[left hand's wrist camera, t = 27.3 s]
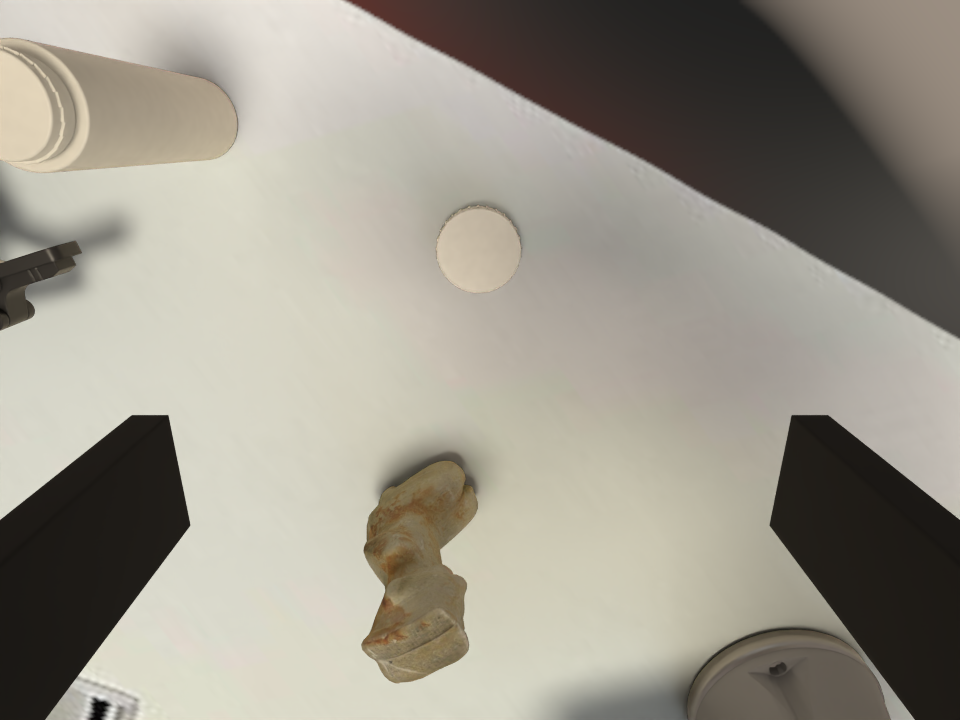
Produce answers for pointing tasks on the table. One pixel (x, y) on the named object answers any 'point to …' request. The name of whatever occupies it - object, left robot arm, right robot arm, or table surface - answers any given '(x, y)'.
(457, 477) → the sculpture
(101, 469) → the left robot arm
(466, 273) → the lid
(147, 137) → the jar
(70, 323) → the table surface
